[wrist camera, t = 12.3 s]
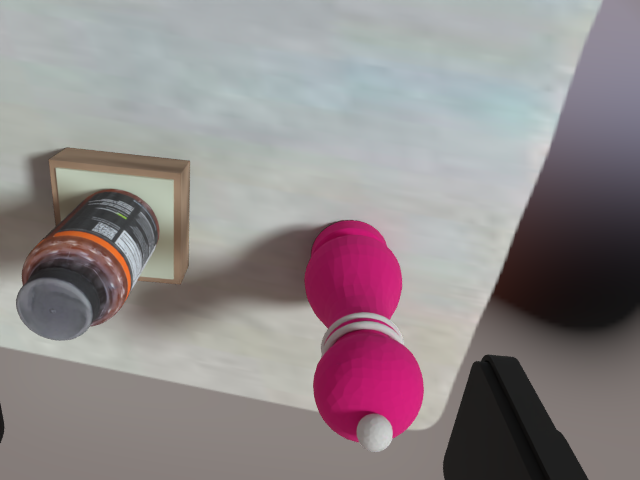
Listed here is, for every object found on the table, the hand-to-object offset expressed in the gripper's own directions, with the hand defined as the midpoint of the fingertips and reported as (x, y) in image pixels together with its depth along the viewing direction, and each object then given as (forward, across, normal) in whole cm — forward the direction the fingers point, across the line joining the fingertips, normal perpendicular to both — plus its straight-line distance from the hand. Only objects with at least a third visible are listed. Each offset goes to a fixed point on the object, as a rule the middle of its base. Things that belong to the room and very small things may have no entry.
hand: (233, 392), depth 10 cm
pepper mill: (+31, -6, +12) cm, 33 cm away
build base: (+30, +12, +10) cm, 34 cm away
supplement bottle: (+27, +11, +10) cm, 31 cm away
